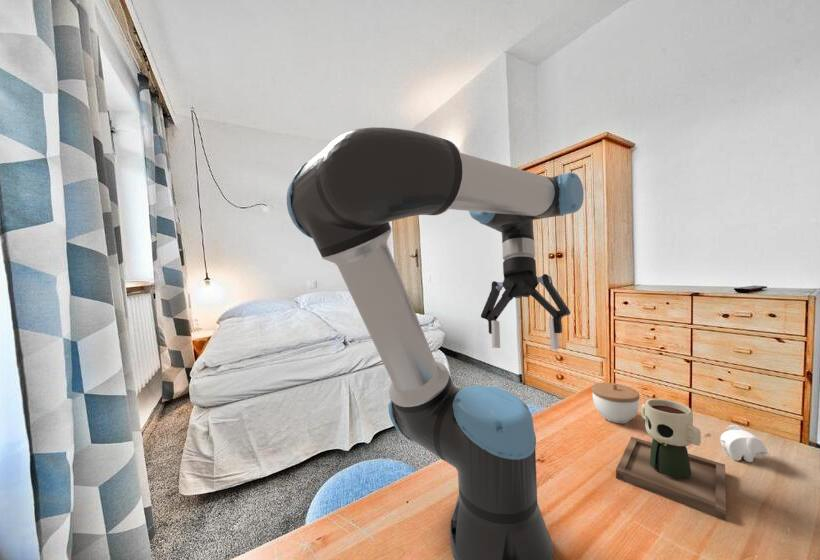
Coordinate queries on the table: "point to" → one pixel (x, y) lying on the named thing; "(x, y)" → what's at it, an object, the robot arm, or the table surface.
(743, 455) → the elephant figurine
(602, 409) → the lidded jar
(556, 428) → the table surface
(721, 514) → the walnut tray
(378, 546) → the table surface
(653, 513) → the table surface
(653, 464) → the character mug
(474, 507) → the robot arm
